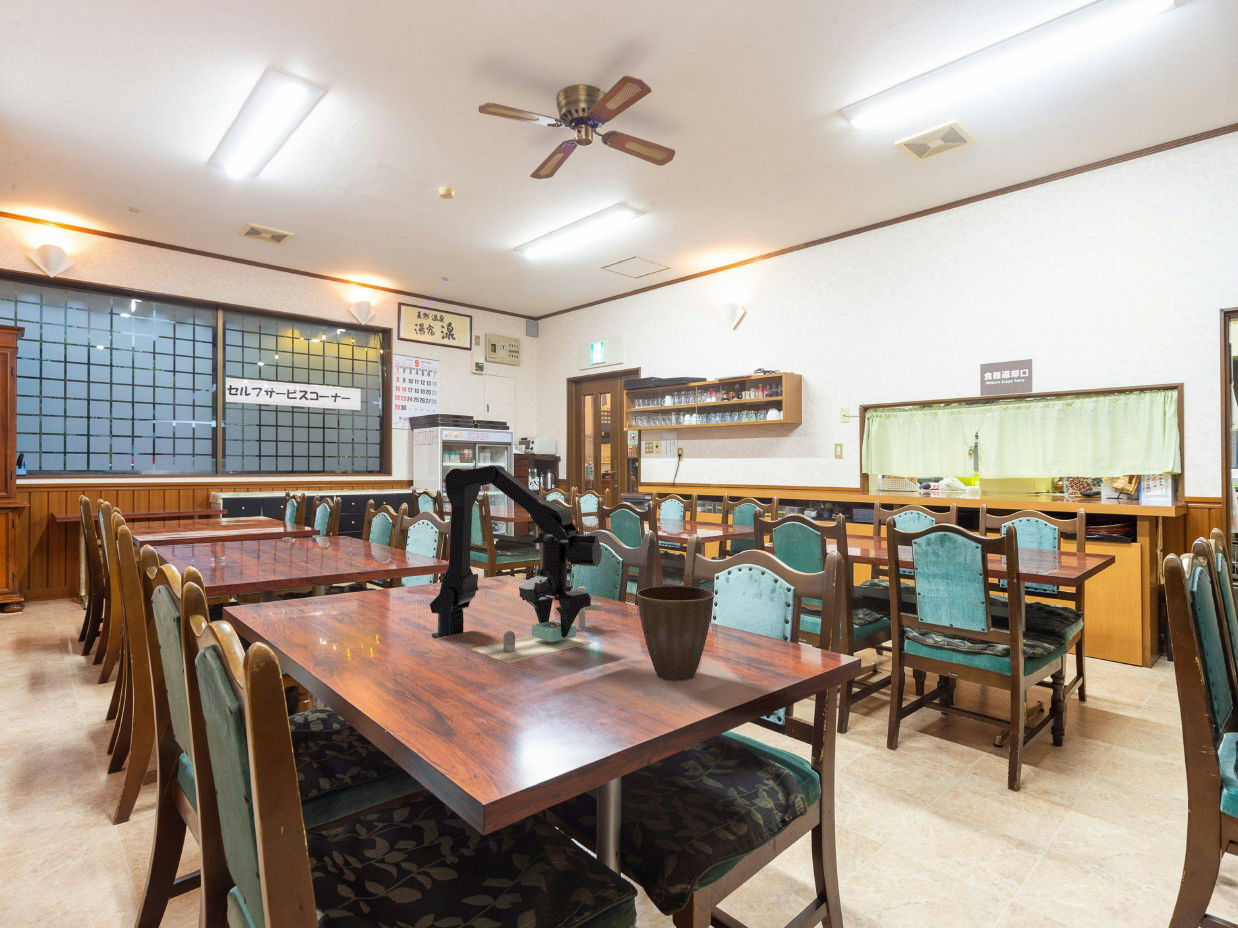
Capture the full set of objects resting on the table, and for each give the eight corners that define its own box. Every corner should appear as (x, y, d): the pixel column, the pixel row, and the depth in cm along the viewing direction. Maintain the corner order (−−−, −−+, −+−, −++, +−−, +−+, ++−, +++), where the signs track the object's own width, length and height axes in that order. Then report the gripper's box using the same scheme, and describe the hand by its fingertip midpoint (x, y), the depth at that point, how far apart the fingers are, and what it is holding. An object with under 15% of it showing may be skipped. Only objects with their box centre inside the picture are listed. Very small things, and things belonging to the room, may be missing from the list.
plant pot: (666, 693, 115) (666, 603, 115) (621, 670, 127) (622, 589, 127) (729, 679, 123) (730, 595, 123) (681, 659, 135) (682, 583, 135)
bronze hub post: (546, 640, 144) (546, 621, 144) (554, 638, 145) (554, 620, 145) (553, 642, 142) (553, 623, 142) (561, 640, 143) (561, 621, 144)
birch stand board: (470, 655, 137) (470, 628, 137) (551, 637, 152) (552, 613, 152) (508, 671, 127) (508, 641, 127) (591, 649, 142) (591, 623, 142)
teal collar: (531, 636, 144) (531, 624, 144) (556, 630, 148) (556, 619, 148) (551, 642, 139) (551, 630, 139) (576, 636, 143) (576, 625, 143)
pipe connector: (600, 632, 157) (600, 591, 158) (559, 631, 158) (560, 590, 158) (602, 622, 167) (602, 583, 168) (564, 621, 168) (564, 583, 168)
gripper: (500, 562, 145) (499, 632, 144) (552, 572, 131) (551, 649, 131) (539, 558, 152) (539, 624, 152) (592, 567, 139) (592, 639, 139)
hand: (553, 633), depth 144 cm, fingers closed on teal collar, 7 cm apart
